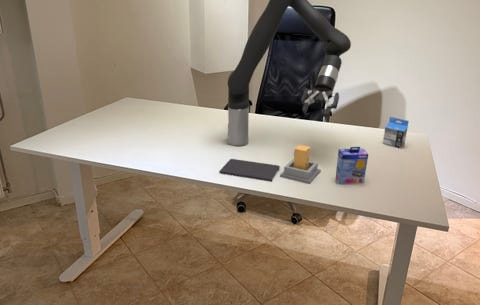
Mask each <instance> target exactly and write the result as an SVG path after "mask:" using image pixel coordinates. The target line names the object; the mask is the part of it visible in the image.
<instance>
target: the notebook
mask: <svg viewBox="0 0 480 305" xmlns="http://www.w3.org/2000/svg"><path fill="white" fill-rule="evenodd" d="M280 168H281V166H280V165H277V164H269V163H264V162H259V161H257V162H256V161H250V160H242V159H237V158H236V159H235V158H229V160H228V161H227V162H226V163H225V165H224V166H222V168H221V169H220V170H219V171H218V172H219V174H220V173H221V174H220V175H226V174H227V176H232V175H233V176H235V177H238V178H239V177H240V178H246V179H247V178H248V179H253V180H259V181H265V182H273V180H274V179H275V177H276V175H277V173H278V171H280ZM233 176H232V177H233Z"/></svg>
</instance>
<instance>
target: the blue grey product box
mask: <svg viewBox="0 0 480 305" xmlns="http://www.w3.org/2000/svg"><path fill="white" fill-rule="evenodd" d="M408 128H409V120H406V119H401V118H396V117H393V116H390V117H389V121H388V123H387V124H386V125H385V127H384V132H383V139H382V144H383V145H386V146H390V147H393V148H398V149H400V150H401V149H403V148H404V147H405V144H406V139H407V138H406V137H407V132H408Z"/></svg>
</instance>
